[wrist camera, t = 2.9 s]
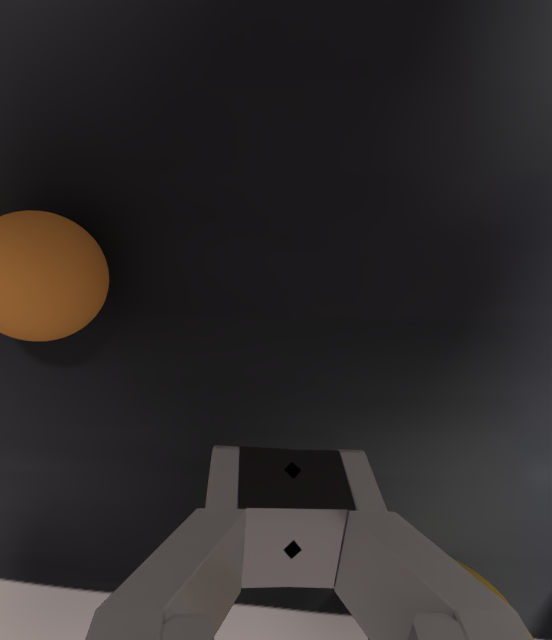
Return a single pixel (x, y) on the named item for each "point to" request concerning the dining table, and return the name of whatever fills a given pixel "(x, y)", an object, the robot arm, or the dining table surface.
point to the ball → (48, 276)
